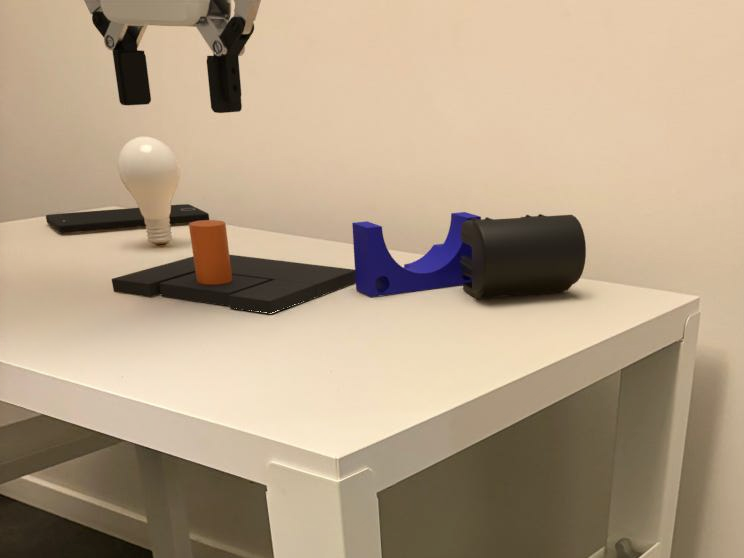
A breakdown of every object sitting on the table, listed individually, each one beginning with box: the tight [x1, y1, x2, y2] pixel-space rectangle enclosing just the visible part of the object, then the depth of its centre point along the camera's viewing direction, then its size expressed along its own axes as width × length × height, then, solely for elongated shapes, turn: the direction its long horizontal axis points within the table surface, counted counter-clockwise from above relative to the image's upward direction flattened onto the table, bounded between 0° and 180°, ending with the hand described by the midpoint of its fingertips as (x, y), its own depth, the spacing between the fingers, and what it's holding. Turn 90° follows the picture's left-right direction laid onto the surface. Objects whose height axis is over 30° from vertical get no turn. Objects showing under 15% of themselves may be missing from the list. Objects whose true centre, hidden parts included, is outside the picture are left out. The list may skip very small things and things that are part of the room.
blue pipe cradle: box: [351, 211, 482, 298], centre depth 94 cm, size 12×4×6 cm, turn 122°
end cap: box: [460, 213, 587, 300], centre depth 90 cm, size 10×7×7 cm
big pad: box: [111, 254, 356, 313], centre depth 94 cm, size 18×14×1 cm
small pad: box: [159, 219, 270, 306], centre depth 90 cm, size 8×6×6 cm
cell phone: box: [45, 203, 210, 234], centre depth 122 cm, size 9×18×1 cm, turn 121°
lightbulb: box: [117, 135, 181, 247], centre depth 107 cm, size 6×6×11 cm
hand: (180, 108), depth 83 cm, fingers open, 9 cm apart
